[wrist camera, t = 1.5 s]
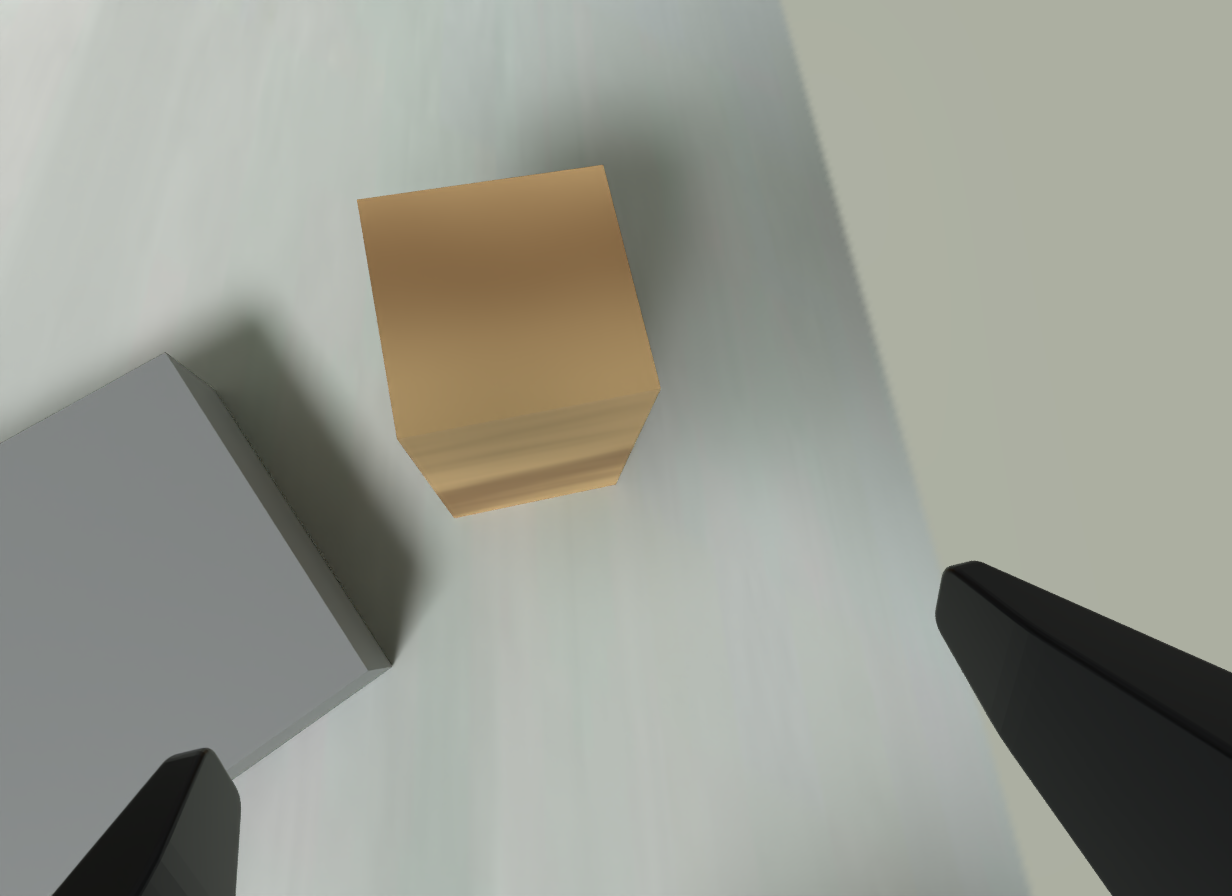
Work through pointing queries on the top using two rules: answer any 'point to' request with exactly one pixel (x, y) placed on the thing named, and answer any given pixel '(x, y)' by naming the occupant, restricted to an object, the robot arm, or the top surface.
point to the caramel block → (510, 336)
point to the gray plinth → (149, 612)
